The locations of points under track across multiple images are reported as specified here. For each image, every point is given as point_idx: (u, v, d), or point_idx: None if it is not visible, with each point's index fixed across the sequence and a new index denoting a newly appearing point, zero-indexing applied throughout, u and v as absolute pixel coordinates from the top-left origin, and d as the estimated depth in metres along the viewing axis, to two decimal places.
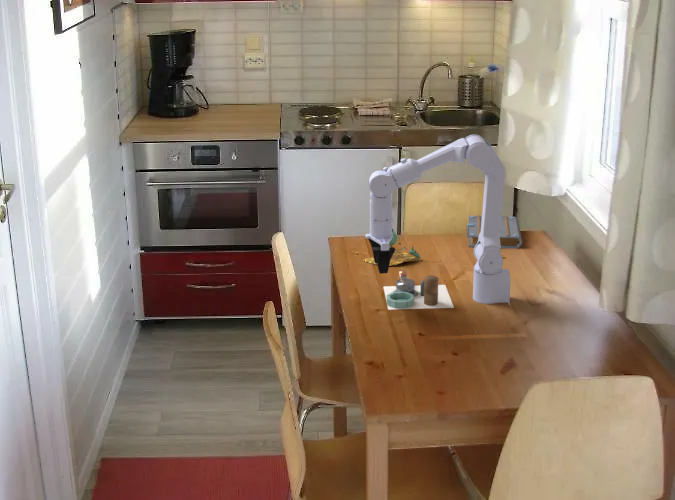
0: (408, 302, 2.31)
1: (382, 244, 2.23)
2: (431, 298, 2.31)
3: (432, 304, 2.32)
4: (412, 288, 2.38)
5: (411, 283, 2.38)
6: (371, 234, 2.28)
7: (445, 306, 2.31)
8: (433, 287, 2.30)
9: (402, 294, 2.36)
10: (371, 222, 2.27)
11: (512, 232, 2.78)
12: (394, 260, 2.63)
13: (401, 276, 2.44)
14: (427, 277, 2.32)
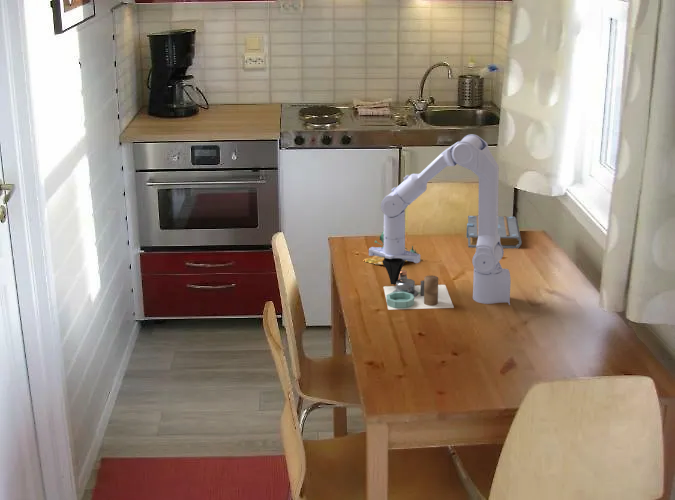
0: (408, 302, 2.31)
1: (417, 257, 2.38)
2: (431, 298, 2.31)
3: (432, 304, 2.32)
4: (412, 288, 2.38)
5: (411, 283, 2.38)
6: (393, 253, 2.39)
7: (445, 306, 2.31)
8: (433, 287, 2.30)
9: (402, 294, 2.36)
10: (394, 242, 2.38)
11: (512, 232, 2.78)
12: None
13: (401, 276, 2.44)
14: (427, 277, 2.32)
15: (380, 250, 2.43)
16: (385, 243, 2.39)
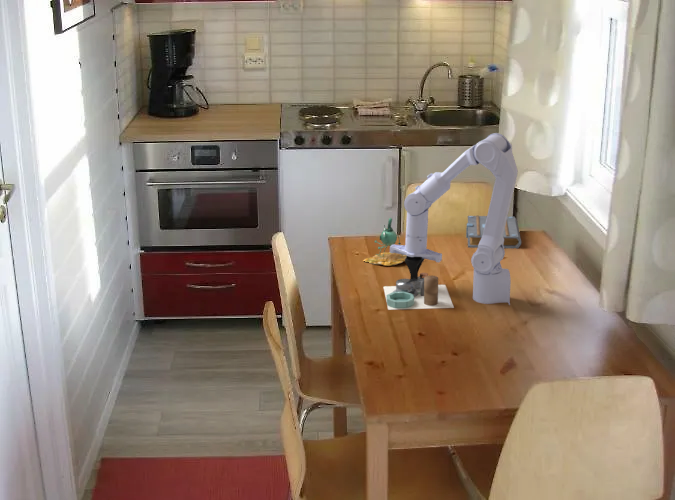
0: (408, 302, 2.31)
1: (439, 256, 2.37)
2: (431, 298, 2.31)
3: (432, 304, 2.32)
4: (405, 289, 2.37)
5: (406, 284, 2.37)
6: (415, 251, 2.38)
7: (445, 306, 2.31)
8: (433, 287, 2.30)
9: (402, 294, 2.36)
10: (416, 240, 2.37)
11: (512, 232, 2.78)
12: (394, 260, 2.63)
13: (416, 277, 2.43)
14: (427, 277, 2.32)
15: (401, 248, 2.43)
16: (407, 241, 2.39)
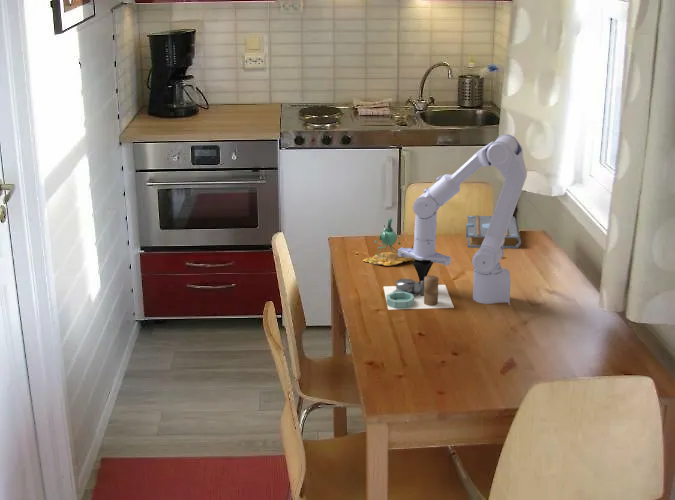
0: (408, 302, 2.31)
1: (448, 259, 2.35)
2: (431, 298, 2.31)
3: (432, 304, 2.32)
4: (399, 288, 2.38)
5: (401, 284, 2.38)
6: (424, 255, 2.36)
7: (445, 306, 2.31)
8: (433, 287, 2.30)
9: (402, 294, 2.36)
10: (425, 243, 2.35)
11: (511, 232, 2.78)
12: (394, 260, 2.63)
13: None
14: (427, 277, 2.32)
15: (410, 251, 2.40)
16: (416, 244, 2.36)
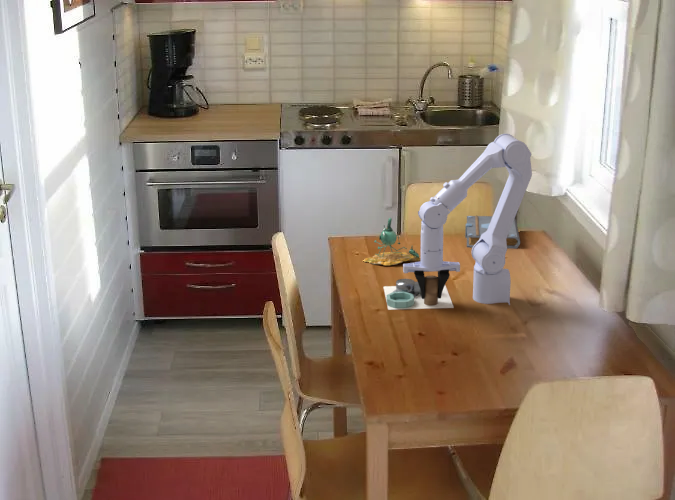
0: (408, 302, 2.31)
1: (403, 265, 2.31)
2: (431, 298, 2.31)
3: (432, 304, 2.32)
4: (399, 288, 2.38)
5: (401, 284, 2.38)
6: None
7: (445, 306, 2.31)
8: (433, 287, 2.30)
9: (402, 294, 2.36)
10: None
11: (511, 232, 2.78)
12: (393, 260, 2.63)
13: None
14: (427, 277, 2.32)
15: None
16: None
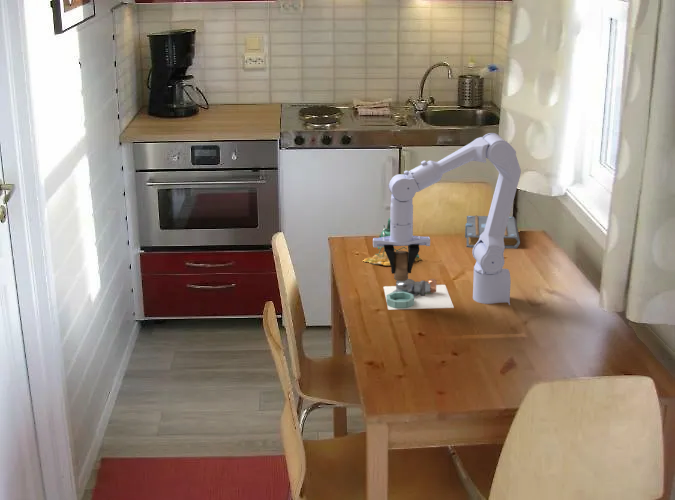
0: (408, 302, 2.31)
1: (373, 239, 2.29)
2: (401, 273, 2.29)
3: (402, 279, 2.30)
4: (399, 288, 2.38)
5: (401, 284, 2.38)
6: None
7: (445, 306, 2.31)
8: (403, 261, 2.28)
9: (402, 294, 2.36)
10: None
11: (510, 232, 2.78)
12: None
13: None
14: (397, 252, 2.30)
15: None
16: None
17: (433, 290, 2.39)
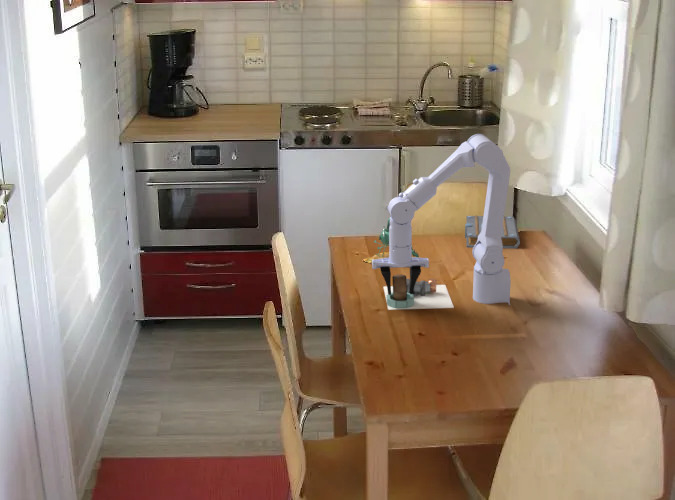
0: (408, 302, 2.31)
1: (372, 260, 2.31)
2: (400, 297, 2.31)
3: None
4: None
5: None
6: None
7: (445, 306, 2.31)
8: (401, 285, 2.30)
9: None
10: None
11: (510, 232, 2.78)
12: None
13: None
14: (395, 276, 2.32)
15: None
16: None
17: (433, 290, 2.39)
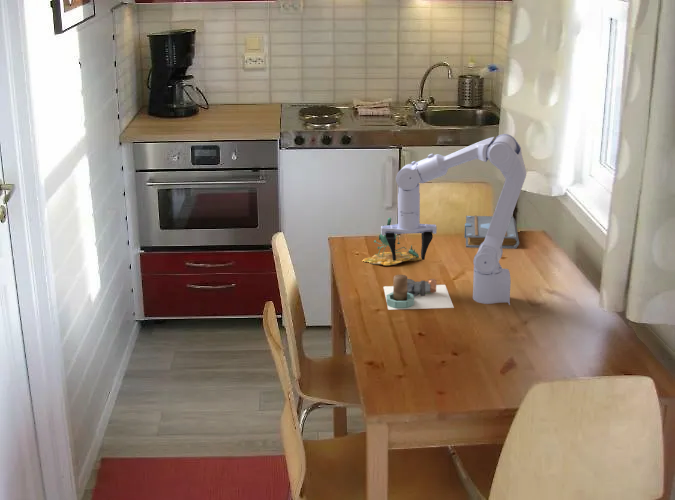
0: (408, 302, 2.31)
1: (381, 227, 2.37)
2: (400, 297, 2.31)
3: None
4: None
5: None
6: None
7: (445, 306, 2.31)
8: (402, 286, 2.30)
9: None
10: None
11: (510, 232, 2.78)
12: None
13: None
14: (396, 276, 2.32)
15: None
16: None
17: (433, 290, 2.39)
